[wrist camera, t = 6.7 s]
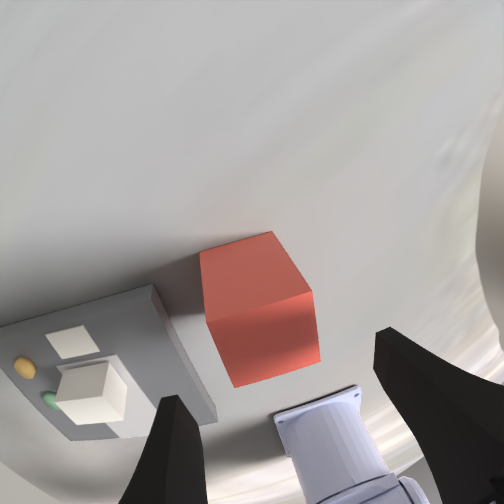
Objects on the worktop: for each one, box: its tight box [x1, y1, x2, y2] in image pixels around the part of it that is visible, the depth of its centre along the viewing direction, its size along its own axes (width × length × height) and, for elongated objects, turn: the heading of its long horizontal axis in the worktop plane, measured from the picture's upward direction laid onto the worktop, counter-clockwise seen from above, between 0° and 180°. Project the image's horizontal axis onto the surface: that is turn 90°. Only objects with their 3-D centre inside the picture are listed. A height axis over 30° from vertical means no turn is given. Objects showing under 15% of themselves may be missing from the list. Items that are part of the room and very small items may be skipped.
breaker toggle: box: [54, 362, 127, 425], centre depth 15 cm, size 2×4×3 cm, turn 103°
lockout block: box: [199, 231, 321, 388], centre depth 15 cm, size 4×4×6 cm
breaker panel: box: [0, 284, 218, 441], centre depth 18 cm, size 12×14×2 cm
